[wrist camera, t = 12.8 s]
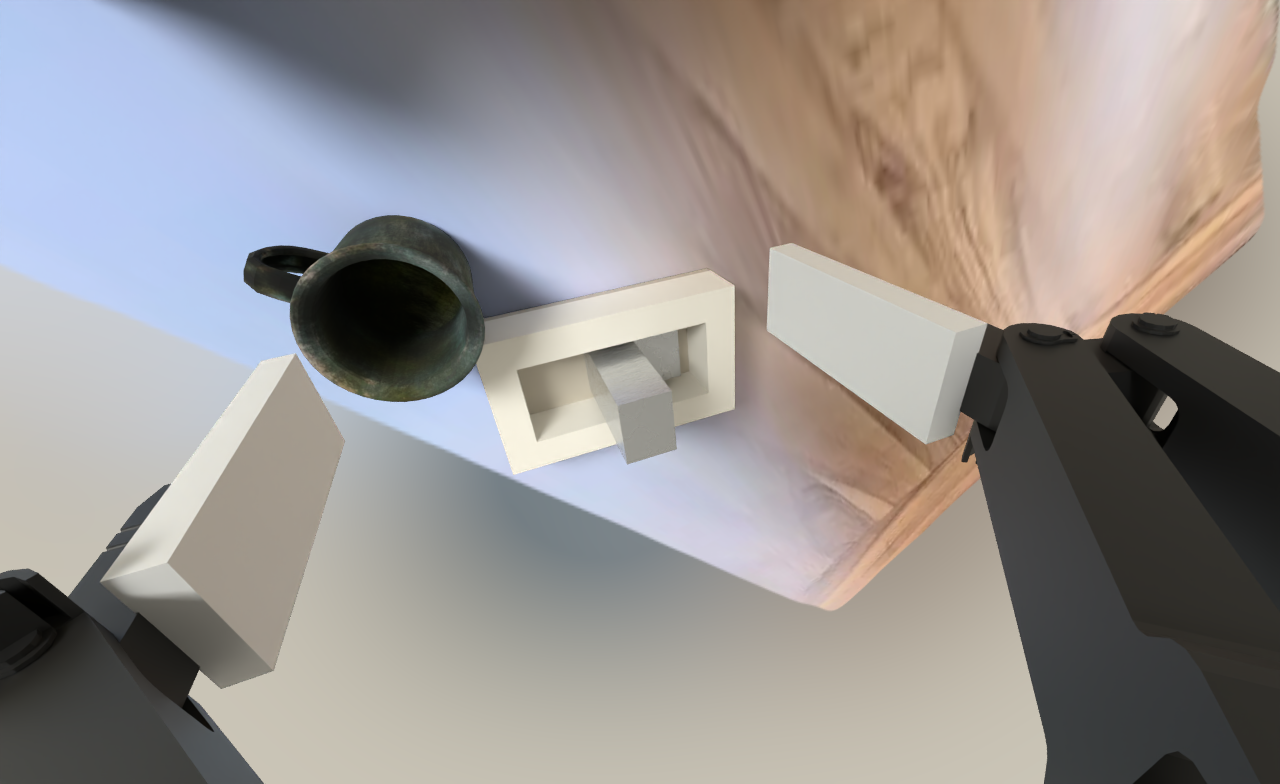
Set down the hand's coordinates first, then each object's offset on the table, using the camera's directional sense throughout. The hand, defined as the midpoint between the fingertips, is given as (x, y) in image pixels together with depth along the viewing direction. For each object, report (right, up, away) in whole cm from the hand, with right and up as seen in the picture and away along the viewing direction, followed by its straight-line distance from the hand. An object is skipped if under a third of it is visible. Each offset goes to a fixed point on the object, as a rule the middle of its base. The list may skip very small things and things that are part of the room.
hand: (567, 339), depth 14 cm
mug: (-19, +9, +27) cm, 34 cm away
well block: (-2, +2, +37) cm, 37 cm away
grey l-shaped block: (+1, +2, +37) cm, 37 cm away
